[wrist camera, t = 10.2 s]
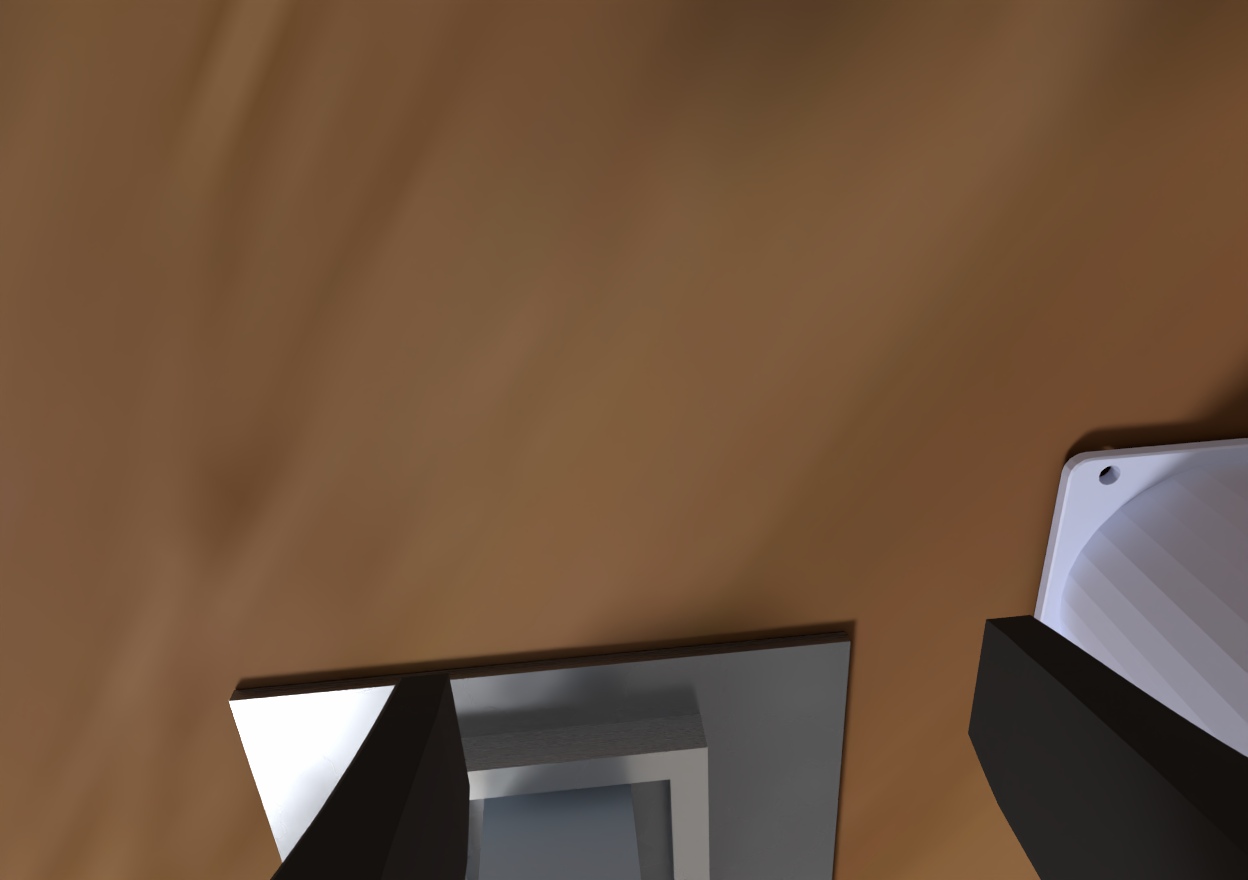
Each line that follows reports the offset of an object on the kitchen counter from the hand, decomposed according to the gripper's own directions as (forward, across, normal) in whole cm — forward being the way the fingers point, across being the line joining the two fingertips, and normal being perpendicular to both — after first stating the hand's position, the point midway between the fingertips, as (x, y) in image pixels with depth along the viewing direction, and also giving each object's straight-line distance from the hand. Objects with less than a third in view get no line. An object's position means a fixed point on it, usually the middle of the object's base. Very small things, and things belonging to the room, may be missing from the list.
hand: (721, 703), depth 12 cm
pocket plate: (+9, +3, +15) cm, 18 cm away
